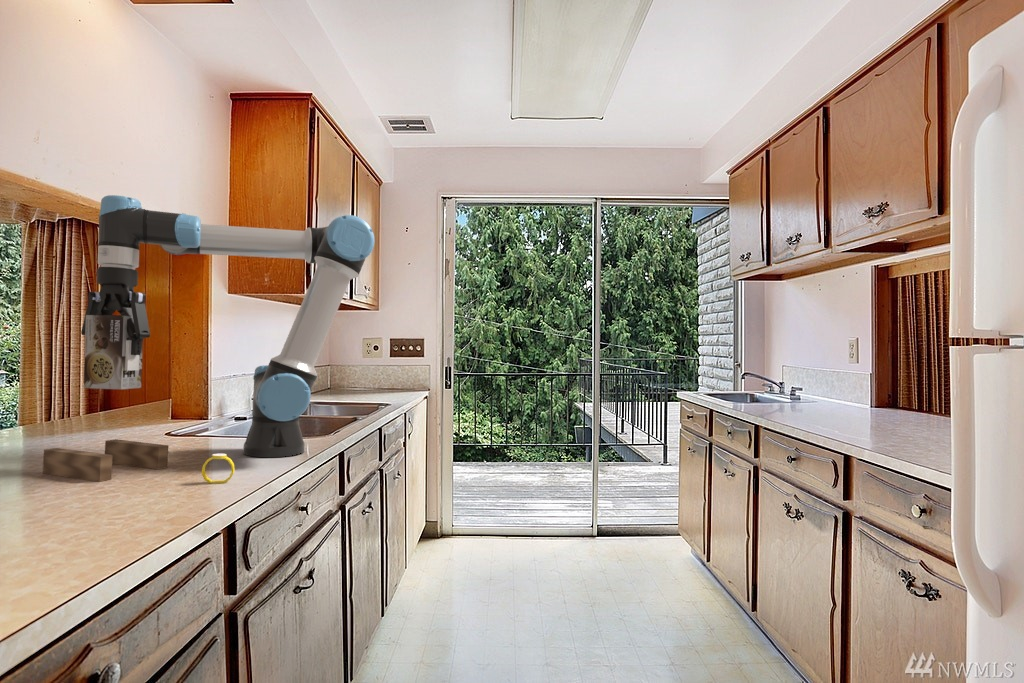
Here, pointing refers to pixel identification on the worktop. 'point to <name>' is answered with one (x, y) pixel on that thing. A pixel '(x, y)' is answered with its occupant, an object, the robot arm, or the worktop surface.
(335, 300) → the robot arm
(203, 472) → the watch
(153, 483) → the worktop surface
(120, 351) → the coffee box
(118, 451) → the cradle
